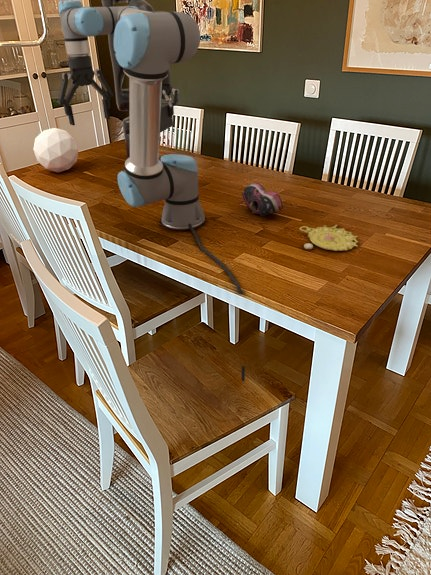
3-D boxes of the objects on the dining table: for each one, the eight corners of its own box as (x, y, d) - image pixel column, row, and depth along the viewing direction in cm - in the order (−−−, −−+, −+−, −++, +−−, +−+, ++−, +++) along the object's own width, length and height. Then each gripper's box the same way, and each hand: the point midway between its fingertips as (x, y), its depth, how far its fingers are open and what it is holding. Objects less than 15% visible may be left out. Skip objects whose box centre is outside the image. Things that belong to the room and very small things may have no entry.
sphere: (65, 187, 210) (49, 161, 191) (35, 167, 214) (16, 139, 196) (92, 159, 215) (78, 132, 196) (62, 140, 219) (46, 111, 200)
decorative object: (343, 255, 128) (285, 234, 139) (342, 262, 130) (284, 241, 140) (372, 230, 142) (317, 213, 152) (371, 237, 143) (316, 219, 153)
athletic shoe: (254, 181, 170) (227, 189, 167) (283, 176, 151) (253, 185, 147) (260, 210, 173) (234, 218, 170) (290, 209, 154) (261, 219, 150)
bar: (143, 141, 169) (140, 117, 164) (133, 140, 171) (129, 116, 166) (173, 125, 186) (171, 103, 181) (163, 124, 188) (161, 102, 183)
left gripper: (180, 69, 175) (183, 114, 184) (145, 70, 177) (149, 114, 186) (175, 72, 169) (179, 118, 178) (139, 72, 171) (144, 118, 180)
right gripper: (107, 51, 157) (116, 114, 168) (38, 57, 144) (52, 125, 155) (117, 52, 152) (126, 117, 163) (46, 59, 139) (61, 129, 150)
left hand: (164, 116), depth 182 cm, fingers closed on bar, 5 cm apart
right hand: (90, 121), depth 159 cm, fingers open, 13 cm apart
